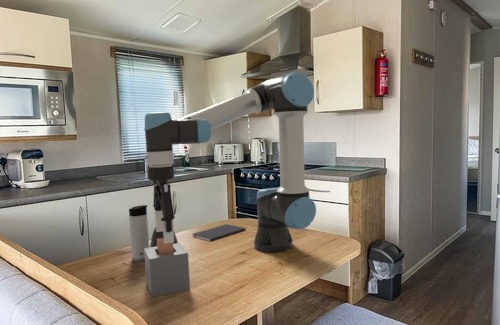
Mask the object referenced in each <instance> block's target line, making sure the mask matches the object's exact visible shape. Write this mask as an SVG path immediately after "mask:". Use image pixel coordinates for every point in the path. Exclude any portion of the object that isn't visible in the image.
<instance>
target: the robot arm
mask: <svg viewBox="0 0 500 325" xmlns="http://www.w3.org/2000/svg"><path fill="white" fill-rule="evenodd" d="M314 96H315V90H314V84H313V82H312V81H311V79H310V78H308V76H307V75H306V74H304V73H302V72H288V73H285V74H283V75H278V76H275V77H274V76H273V77H271V78H268V79H267V80H265V81H262V82H261V83H259V84H257V85H254V86H253V87H251V88H248V89H246V91H245V93H242V94H240V95H237V96H234V97H232V98H229V99H227V100H225V101H222V102H218V103H216V104H214V105H211V106H209V107H207V108H204V109H200V110H199V111H197V112H193V113H191V114H188V115H186V116H183V117H181V118H178V119H174V118H172V116H171V113H170V112H162V111H161V112H160V111H159V112H148V113H146V114H145V115H144V137H145V148H146V150H145V151H146V154H145V155H144V159H146V165H147V166H148V167H147V169H146V170H147V171H146V172H147V179H148V180H149V181H152V182H153V205H152V207H153V209H154V218H155V220H154V222H155V227H156V232H161V231H163V235H164V244H166V243H173V242H174V232H175V230H174V219H175V211H174V205H173V198H172V191H171V190H172V189H171V183H168V180H172V179H174V178H175V172H174V171H175V170H174V166H173V165H174V148H173V145H174V146H175V145H194V144H195V145H196V144H198V145H199V144H206V143H209V141H210V140H211V137H212V130H214V129H217V128H219V127H221V126H224V125H227V124H229V123H231V122H233V121H236V120H238V119H241V118H244V117H247V116H248V115H251V114H253V113H254V114H255V115H256V114H257V115H258V114H260V113H263V112H266V111H272V110H273V111H274V112H273V113H274V115H275V116H276V117H277V118H278V136H279V138H278V140H279V143H278V144H279V177H280V178H279V179H280V182H279V183H280V186H279V187H270V188H262V189H258V191H256V192H257V193H256V208H257V212H256V213H257V229H256V233H255V236H254V241H253V244H254V245H253V247H254V249H255V250H258V251H261V252H266V253H279V252H285V251H288V250H290V249H292V248H293V247H294V244H293V242H294V240H293V237H292V234H291V233H290V229H292V230H293V229H294V230H303V229H306V228H307V227H309V226H310V225H311V223H312V222H314V219H315V217H316V213H317V206H316V203H315V201H313V199H312V198H310V189H309V188H308V187H307V185H306V184H305V183H306V181H305V178H306V177H305V136H304V117H305V116H306V115H307V114H308V108H309V107H308V106H309V105H310V104H311V102H312V101H313V100H314ZM173 230H174V231H173Z"/></svg>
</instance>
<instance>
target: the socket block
mask: <svg viewBox="0 0 500 325" xmlns="http://www.w3.org/2000/svg"><path fill="white" fill-rule="evenodd" d="M144 255H145V261H144V267H145V282H146V286H147V289H148V292H149V294H150V296H151V298H154V297H159V295H160V296H164V294H165V295H169V294H174V293H179V292H184V291H189V290H190V289H191V287H190V286H191V284H190V281H191V280H190V266H189V252H188V251H187V250H186V249H185V248H184V246H183V245H182V243H180V242H178V243H176V244H173V252H172V253H166V254H160V255H158V251H157V247H150V246H149V248H144Z"/></svg>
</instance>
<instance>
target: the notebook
mask: <svg viewBox="0 0 500 325" xmlns="http://www.w3.org/2000/svg"><path fill="white" fill-rule="evenodd" d="M245 231H246V227H241V226H237V225H232V224H227V223H226V224H222V225H218V226H216V227H211V228H208V229H205V230H202V231H198V232H195V233H194V232H193V233H192V237H193V238H197V239H201V240H204V241H208V242H213V241H217V240H219V239H223V238H225V237H229V236H232V235H235V234H238V233H242V232H245Z"/></svg>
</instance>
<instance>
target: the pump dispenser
mask: <svg viewBox="0 0 500 325" xmlns="http://www.w3.org/2000/svg"><path fill="white" fill-rule="evenodd" d="M173 231H174V242H173V244H176V243H179V242H178V238H177V236H176V233H175V230H174V229H173ZM158 238H164V235H163V231H161V232H156V226H155V227H154V229H153V231H152V236H151V240H150V243H149V248H150V247H157V239H158Z"/></svg>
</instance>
